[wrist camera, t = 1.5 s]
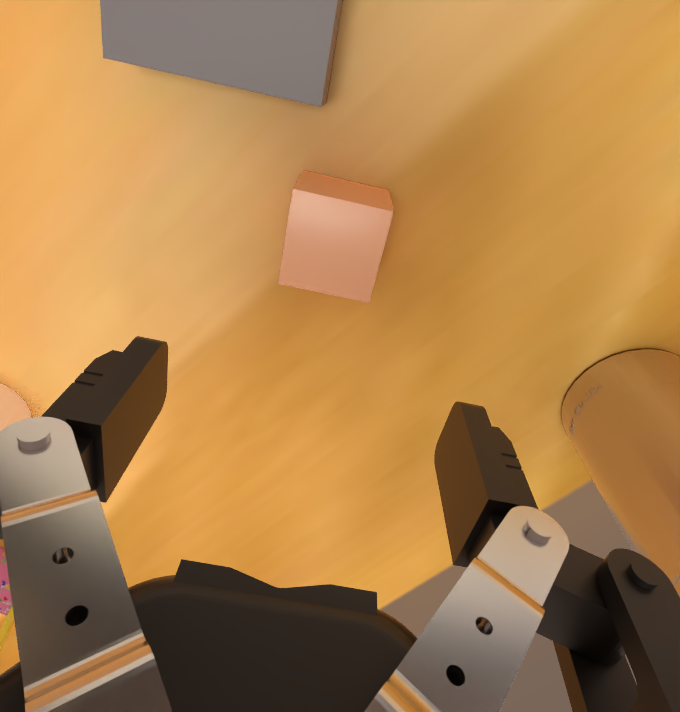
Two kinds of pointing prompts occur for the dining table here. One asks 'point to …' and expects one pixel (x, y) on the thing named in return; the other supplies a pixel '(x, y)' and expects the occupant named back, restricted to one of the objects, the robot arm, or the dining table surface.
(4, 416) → the light grey piece
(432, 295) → the dining table surface
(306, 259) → the terracotta cube
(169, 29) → the charcoal block
